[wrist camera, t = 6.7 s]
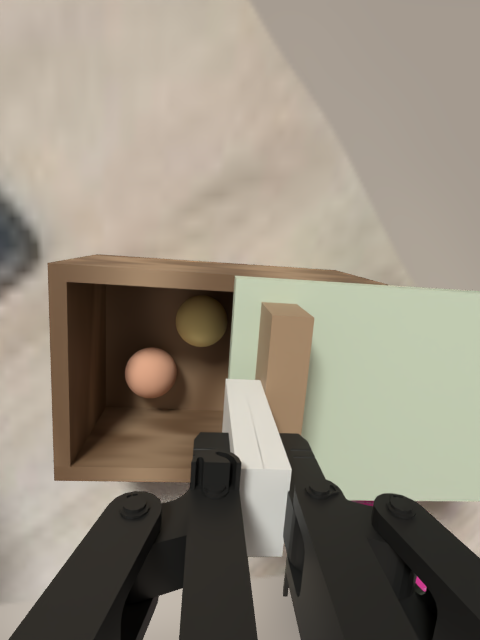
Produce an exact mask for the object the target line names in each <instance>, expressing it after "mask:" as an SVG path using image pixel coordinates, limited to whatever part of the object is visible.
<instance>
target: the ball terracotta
mask: <svg viewBox="0 0 480 640" xmlns="http://www.w3.org/2000/svg"><path fill="white" fill-rule="evenodd" d="M176 377H177V368H176V364H175V362H174V360H173V358H172V357H171V356H170V354H168V353H167V352H166V351H164V350H162V349H159V348H155V347H149V348H144V349H141V350H139V351H137V352H136V353H135V354H133V355H132V357H131V358H130V359H129V361H128V363H127V365H126V368H125V379H126V382H127V384H128V386H129V388H130V389H131V390H132V391H133V392H134V393H135V394H137V395H138V396H140V397H143V398H157V397H160V396H162V395H164V394H166V393H167V392H168V391H169V390H170V389H171V388H172V386H173V385H174V383H175V380H176Z"/></svg>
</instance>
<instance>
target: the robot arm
mask: <svg viewBox="0 0 480 640" xmlns="http://www.w3.org/2000/svg"><path fill="white" fill-rule="evenodd" d="M284 543H285V547H286V551H287V560H286V569H285V578H284V587H283V596H287V595H288V588H290V593H291V597H292V601H293V606H294V611H295V615H296V620H297V624H298V628H299V633H300V637H301V640H480V558H479V557H478V556H477V555H476V554H474V553H473V552H472V551H471V550H470V549H469V548H468V547H467V546H465V545H464V544H463V543H462V542H461V541H460V540H459V539H458V538H456V537H455V536H454V535H453V534H452V533H451V532H450V531H449V530H448V529H446V528H445V527H444V526H443V525H442V524H441V523H440V522H439V521H437V520H436V519H435V518H434V517H433V516H432V515H431V514H430V513H428V512H427V511H426V510H425V509H424V508H423V507H422V506H421V505H419V504H418V503H416V502H415V501H413V500H412V499H410V498H407V497H405V496H403V495H399V494H394V493H383V494H381V495H378V496H377V497H376V498H375V500H374V504H373V506H369V505H364V504H360V503H356V502H353V501H349V500H347V499H346V498H345V496H344V494H343V492H342V491H341V489H340V488H339V487H338V486H337V485H336V484H334V483H333V482H331V481H329V480H326V479H325V477H324V474H323V472H322V470H321V468H320V466H319V464H318V462H317V460H316V458H315V456H314V454H313V452H312V449H311V447H310V445H309V443H308V441H307V440H306V439H304V438H303V437H302V436H301V435H300V434H298V433H279V432H278V429H277V427H276V424H275V421H274V418H273V415H272V412H271V410H270V407H269V404H268V401H267V398H266V395H265V393H264V390H263V387H262V384H261V381H260V380H246V379H226V381H225V396H224V411H223V426H222V433H221V432H200V433H199V434H198V435H197V437H196V438H195V439H194V446H193V459H192V461H191V477H190V488H189V490H188V491H187V493H185V494H184V495H183V496H182V497H180V498H178V499H176V500H173V501H170V502H166V503H162V504H161V502H160V499H158V498H157V497H156V496H155V495H153V494H150V493H147V492H138V491H135V492H130V493H125V494H123V495H121V496H119V497H117V498H115V499H114V500H113V501H112V502H111V503H110V504H109V505H108V506H107V508H106V509H105V510H104V512H103V513H102V514H101V516H100V517H99V518H98V520H97V521H96V522H95V524H94V525H93V526H92V528H91V529H90V531H89V532H88V533H87V535H86V536H85V537H84V539H83V540H82V541H81V543H80V544H79V545H78V547H77V548H76V549H75V551H74V552H73V553H72V555H71V556H70V557H69V559H68V560H67V562H66V563H65V564H64V566H63V567H62V568H61V570H60V571H59V572H58V574H57V575H56V576H55V578H54V579H53V580H52V582H51V583H50V584H49V586H48V587H47V588H46V590H45V591H44V593H43V594H42V595H41V597H40V598H39V599H38V601H37V602H36V603H35V605H34V606H33V607H32V609H31V610H30V611H29V613H28V614H27V615H26V617H25V618H24V620H23V621H22V622H21V624H20V625H19V626H18V628H17V629H16V630H15V632H14V633H13V634H12V636H11V637H10V638H9V640H143V637H144V635H145V632H146V630H147V628H148V625H149V623H150V620H151V618H152V615H153V613H154V610H155V608H156V605H157V603H158V597H159V595H163V594H166V593H169V592H172V591H175V590H178V589H181V588H183V593H182V607H181V621H180V635H179V640H258V639H257V631H256V623H255V616H254V615H255V614H254V606H253V598H252V590H251V583H250V573H249V565H248V557H282V554H283V545H284ZM417 577H418V578H419V579H420V580H421V581H422V582H423V584H424V585H425V586H426V587H427V588H426V592H424V591H423V590H422V589H421V588H420V587H419V586H418V585H417V584H416V578H417Z"/></svg>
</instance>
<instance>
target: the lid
mask: <svg viewBox="0 0 480 640" xmlns="http://www.w3.org/2000/svg"><path fill="white" fill-rule="evenodd" d="M228 379H246V380H260V381H261V384H262V387H263V390H264V393H265V395H266V398H267V401H268V404H269V407H270V410H271V412H272V415H273V418H274V421H275V424H276V427H277V429H278V432H279V433H298V434H300V435H301V436H302V437H303V438H304V439H306V440H307V441H308V443H309V445H310V447H311V449H312V452H313V454H314V456H315V458H316V460H317V462H318V464H319V466H320V468H321V470H322V472H323V474H324V477H325V479H326V480H329V481H331V482H333V483H334V484H336V485H337V486H338V487H339V488H340V489H341V491H342V492H343V494H344V496H345V498H346V499H347V500H366V501H374V500H375V498H376V497H377V496H378V495H381V494H383V493H394V494H399V495H403V496H405V497H407V498H410V499H412V500H413V501H466V502H480V291H468V290H452V289H437V288H421V287H405V286H390V285H374V284H358V283H343V282H327V281H311V280H296V279H280V278H264V277H249V276H235V281H234V295H233V310H232V324H231V339H230V353H229V368H228Z"/></svg>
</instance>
